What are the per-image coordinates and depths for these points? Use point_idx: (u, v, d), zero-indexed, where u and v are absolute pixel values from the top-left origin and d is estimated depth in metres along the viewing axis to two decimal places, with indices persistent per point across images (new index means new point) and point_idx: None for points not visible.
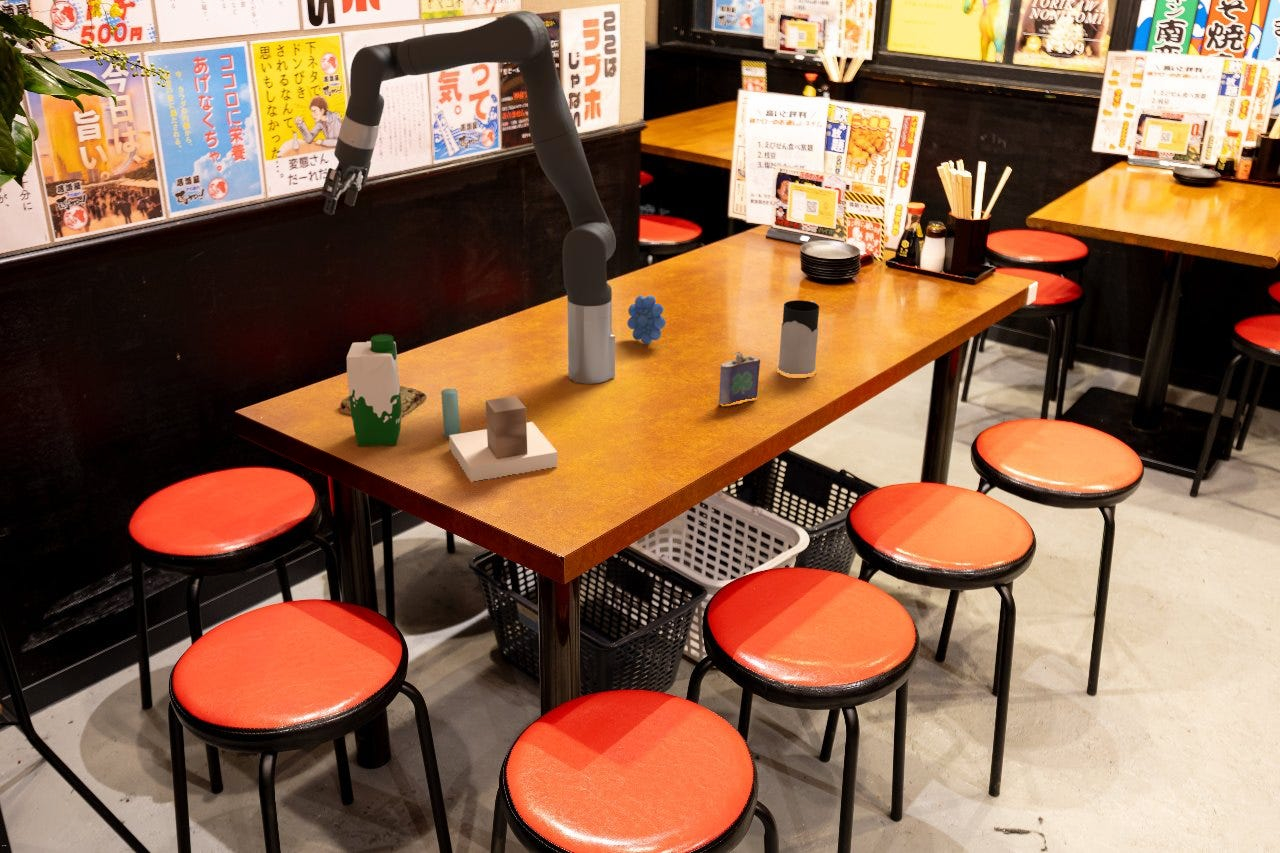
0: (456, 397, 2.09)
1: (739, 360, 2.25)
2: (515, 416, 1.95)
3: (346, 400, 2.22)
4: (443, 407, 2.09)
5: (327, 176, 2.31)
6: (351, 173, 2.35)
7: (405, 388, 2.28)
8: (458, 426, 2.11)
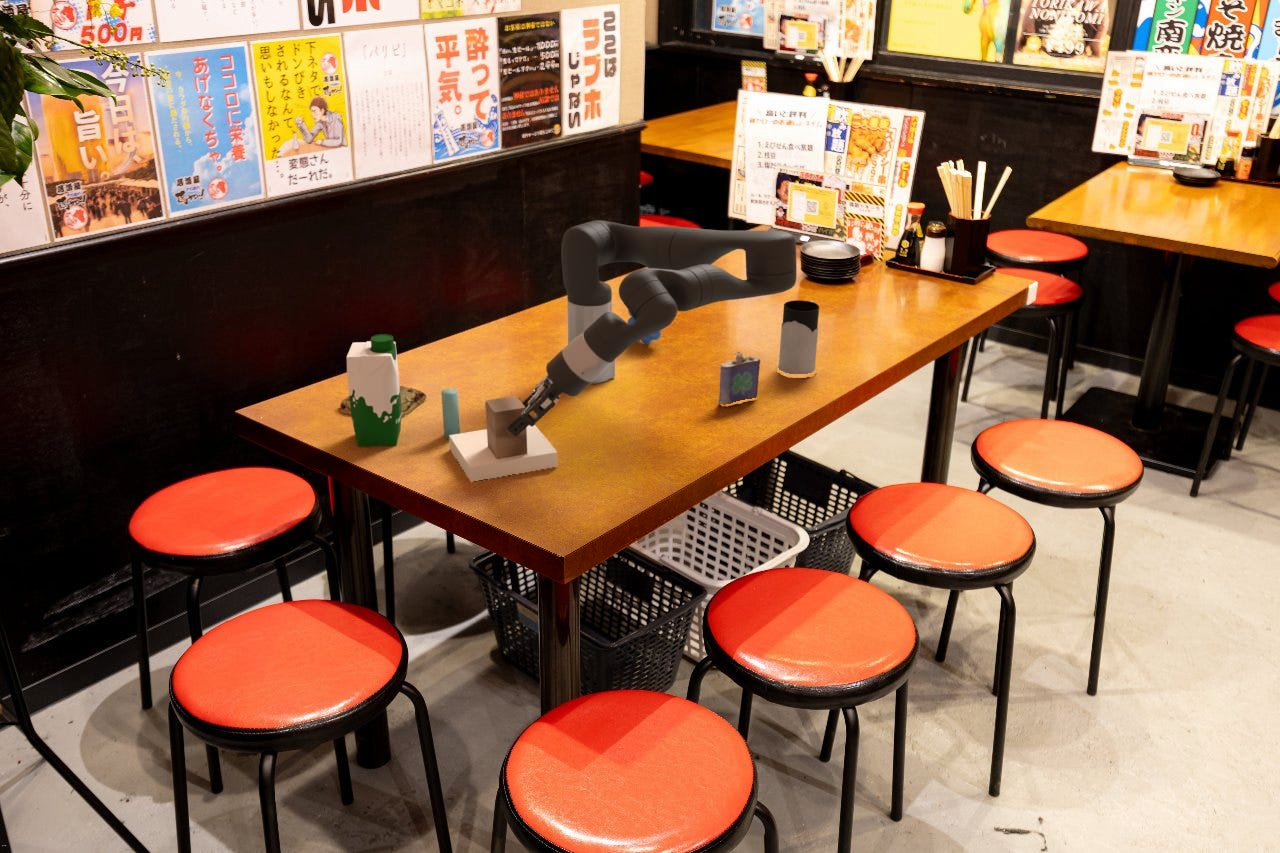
0: (456, 397, 2.09)
1: (739, 360, 2.25)
2: (515, 415, 1.95)
3: (346, 400, 2.22)
4: (443, 407, 2.09)
5: (538, 403, 1.87)
6: (557, 397, 1.92)
7: (405, 388, 2.28)
8: (458, 426, 2.11)
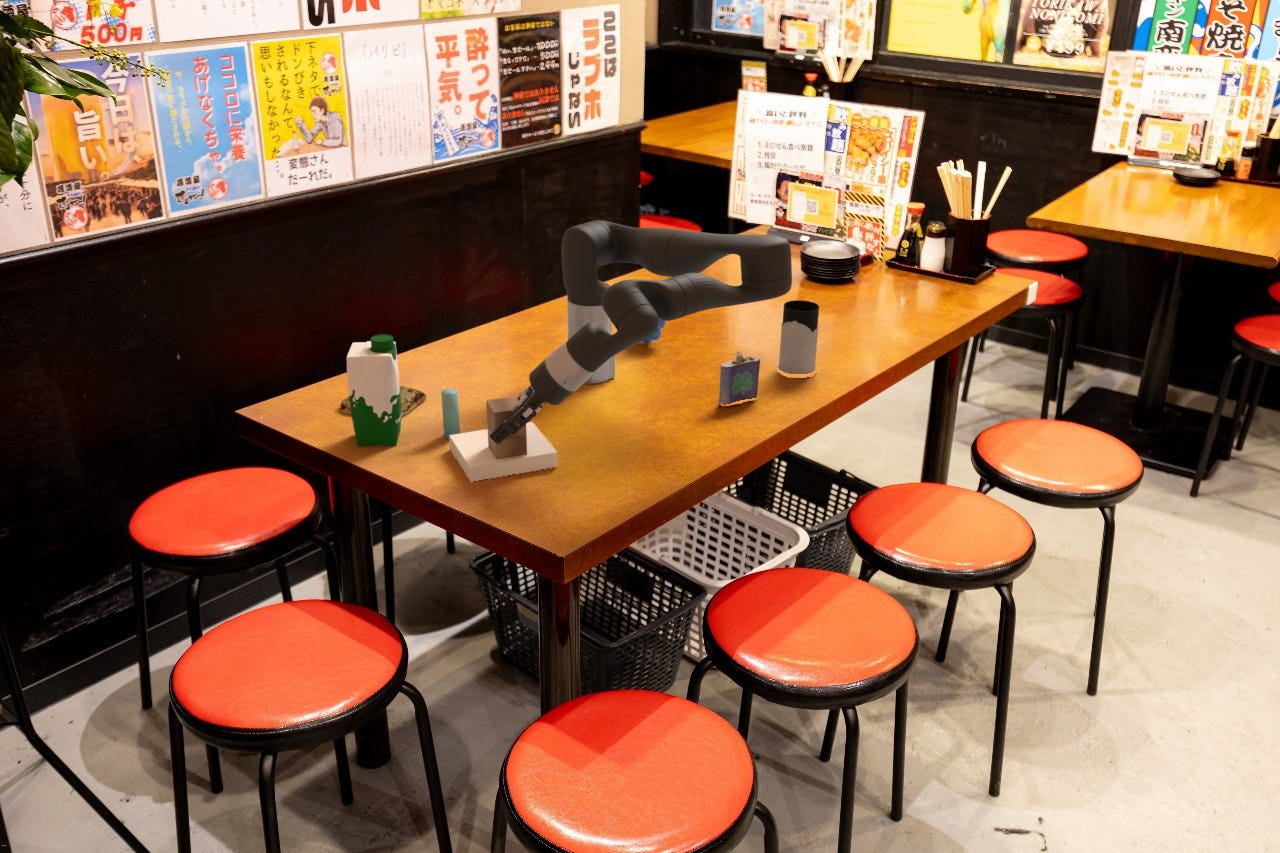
0: (456, 397, 2.09)
1: (739, 360, 2.25)
2: None
3: (346, 400, 2.22)
4: (443, 407, 2.09)
5: (520, 412, 1.89)
6: (539, 406, 1.94)
7: (404, 388, 2.28)
8: (458, 426, 2.11)
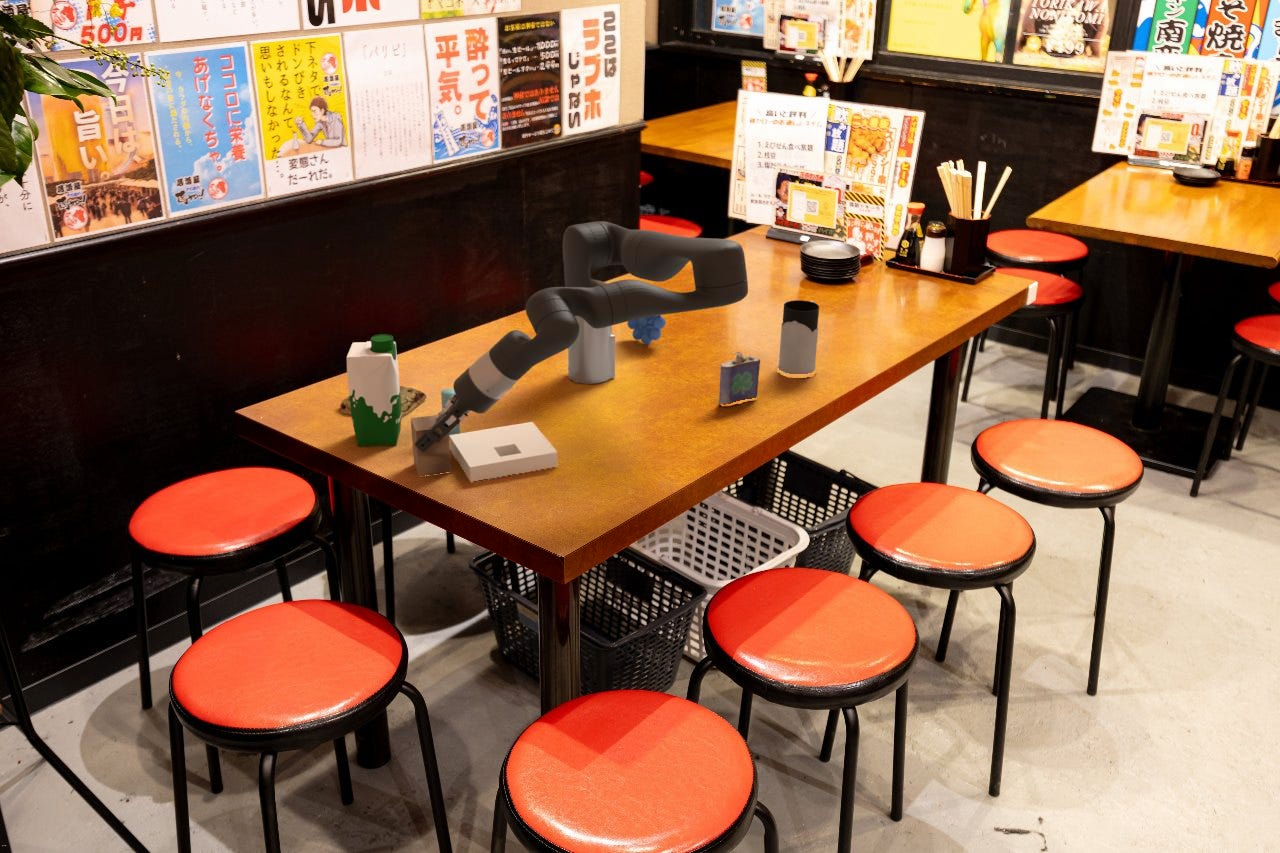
0: None
1: (739, 360, 2.25)
2: None
3: (346, 400, 2.22)
4: (442, 407, 2.09)
5: (443, 419, 1.88)
6: (464, 414, 1.93)
7: (404, 388, 2.28)
8: (458, 426, 2.11)
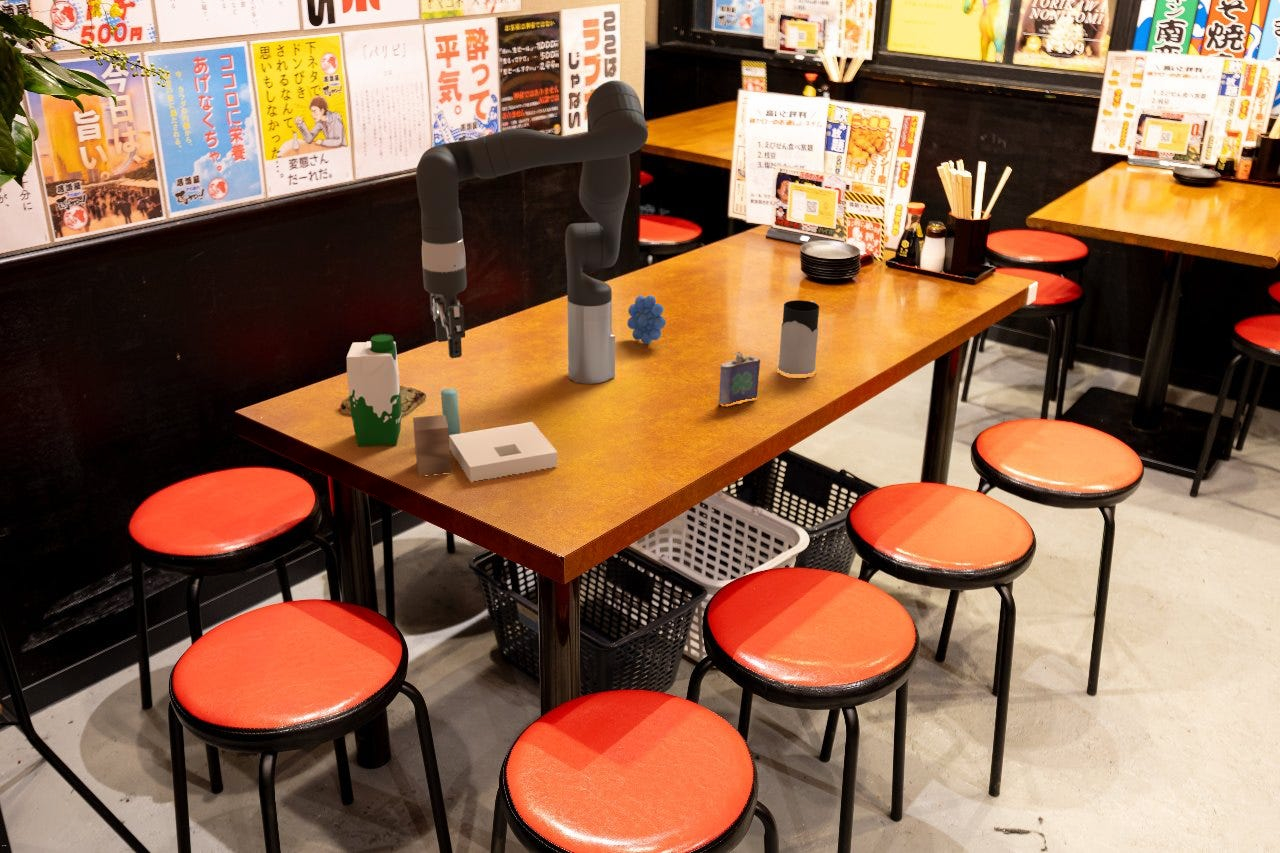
0: (456, 397, 2.09)
1: (739, 360, 2.25)
2: (437, 435, 1.95)
3: (346, 401, 2.22)
4: (442, 407, 2.09)
5: (451, 316, 1.95)
6: (456, 301, 2.00)
7: (404, 387, 2.28)
8: (458, 426, 2.11)
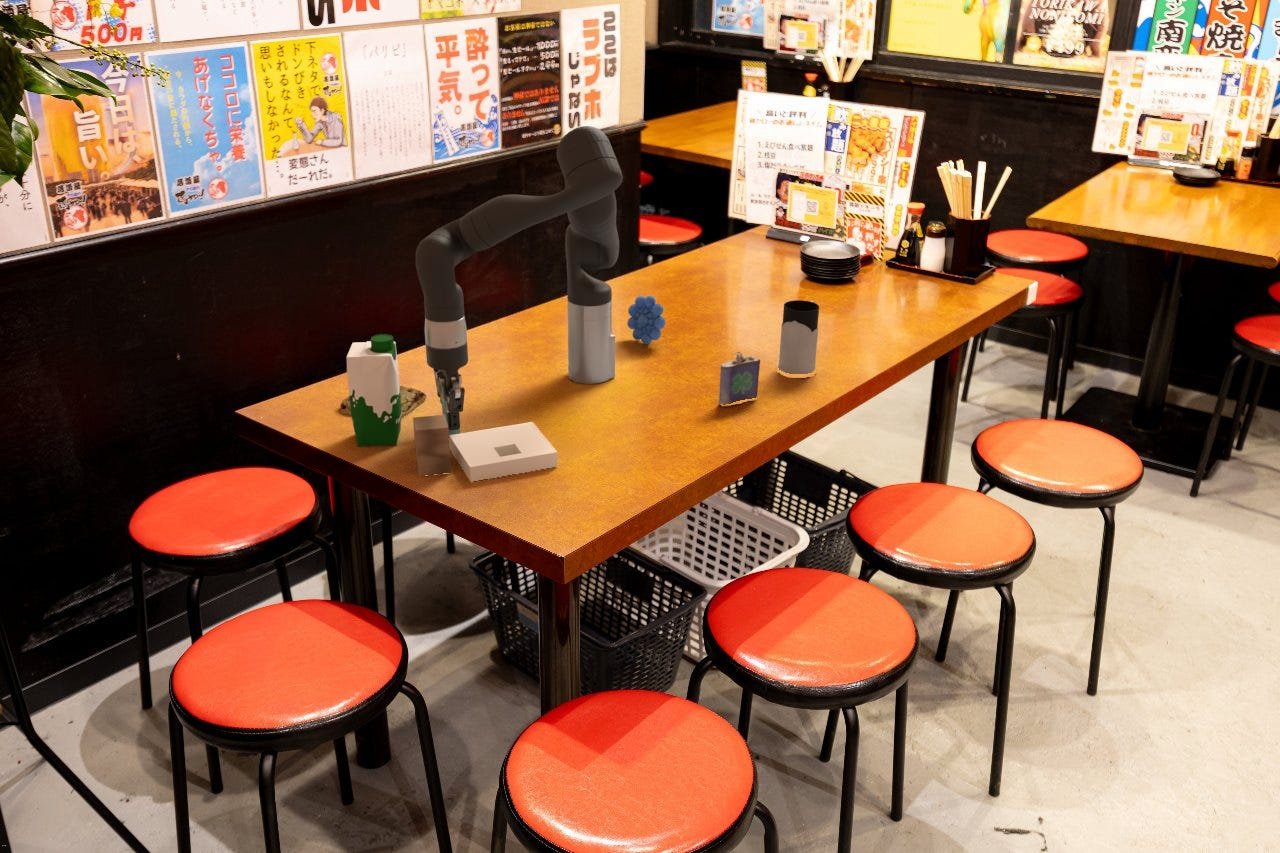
0: None
1: (739, 360, 2.25)
2: (437, 435, 1.95)
3: (346, 400, 2.22)
4: (442, 407, 2.09)
5: (452, 398, 2.03)
6: (458, 377, 2.06)
7: (404, 387, 2.28)
8: None
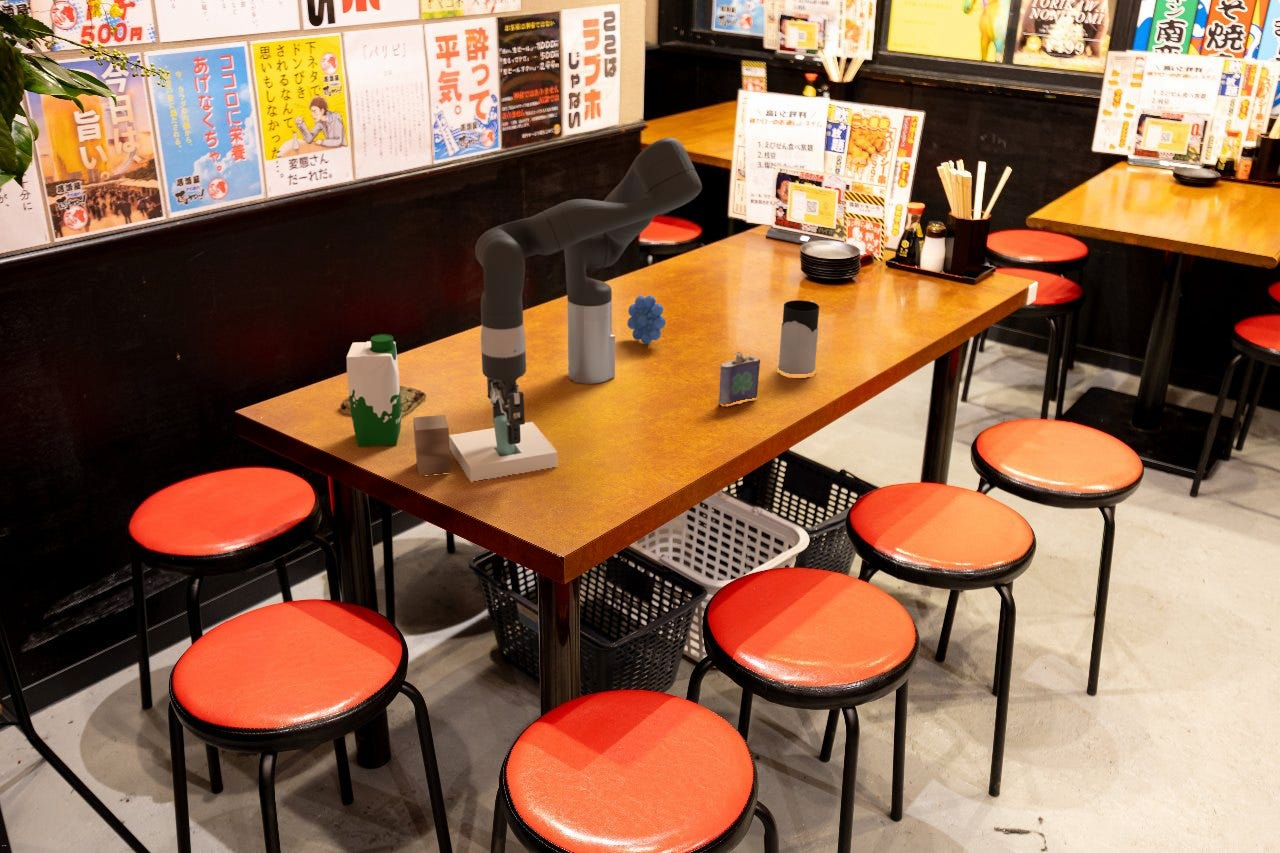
0: None
1: (739, 360, 2.25)
2: (437, 435, 1.95)
3: (346, 401, 2.22)
4: (496, 436, 1.98)
5: (511, 404, 1.89)
6: None
7: (404, 387, 2.28)
8: None
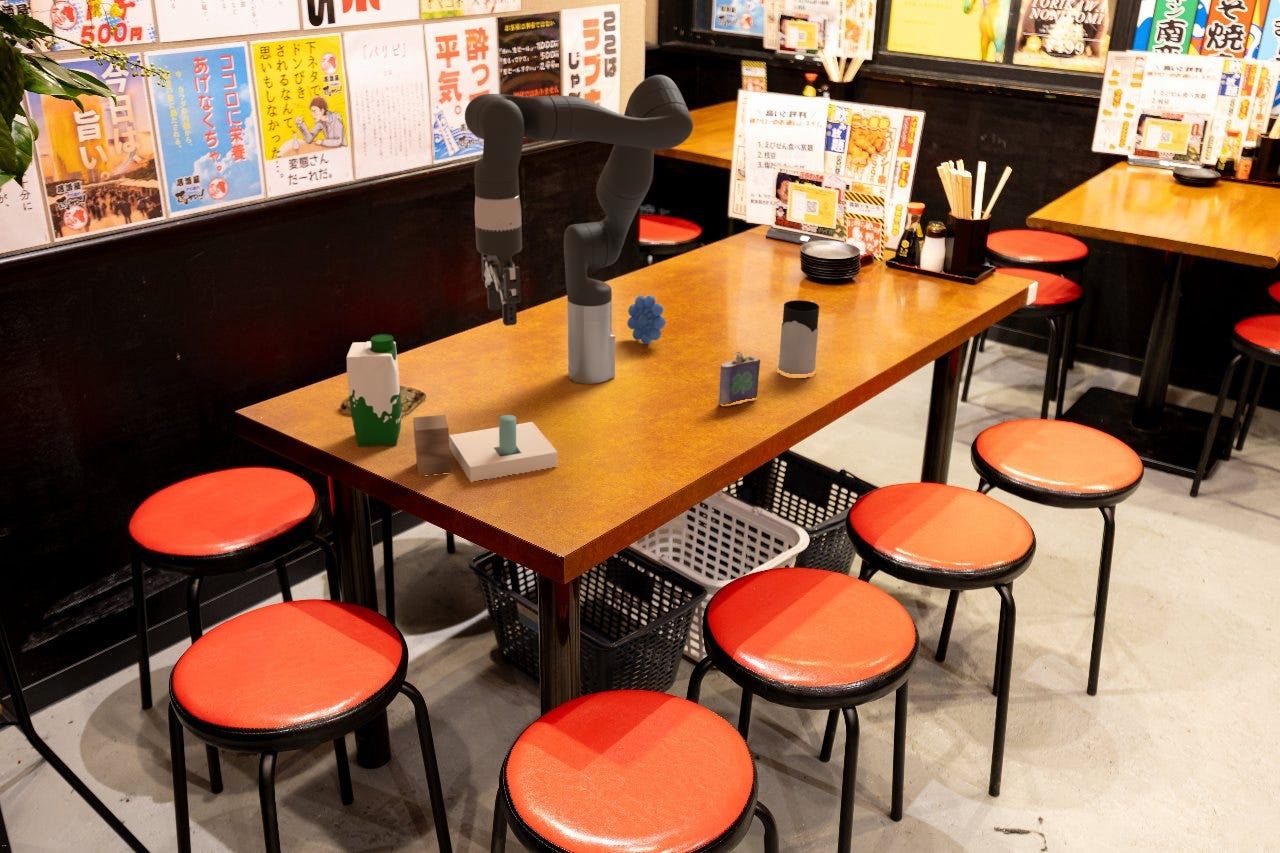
0: (515, 424, 1.98)
1: (739, 360, 2.25)
2: (437, 435, 1.95)
3: (347, 401, 2.22)
4: (500, 434, 1.98)
5: (507, 279, 1.80)
6: None
7: (404, 387, 2.28)
8: None
